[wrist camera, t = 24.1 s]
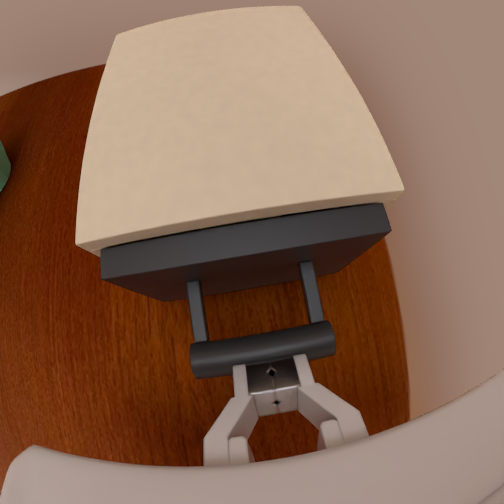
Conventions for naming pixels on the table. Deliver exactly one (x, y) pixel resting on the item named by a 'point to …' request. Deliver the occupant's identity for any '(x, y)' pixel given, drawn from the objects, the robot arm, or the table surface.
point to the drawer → (249, 275)
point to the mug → (4, 167)
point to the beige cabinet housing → (225, 129)
